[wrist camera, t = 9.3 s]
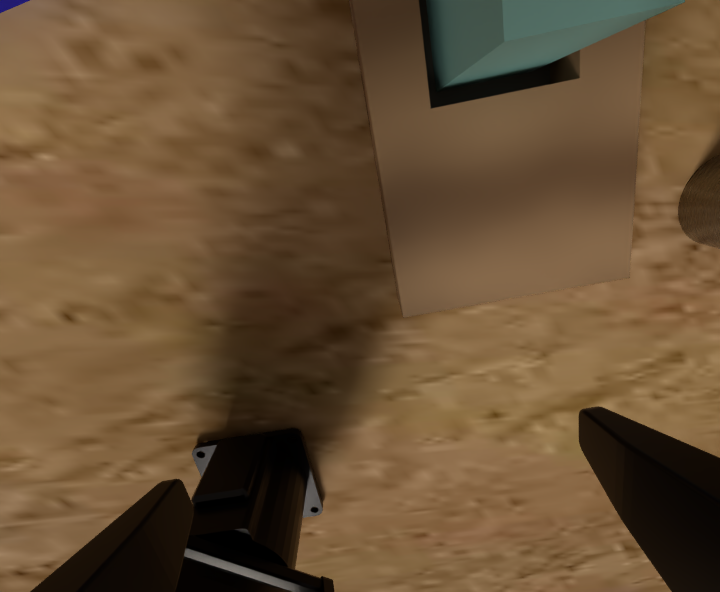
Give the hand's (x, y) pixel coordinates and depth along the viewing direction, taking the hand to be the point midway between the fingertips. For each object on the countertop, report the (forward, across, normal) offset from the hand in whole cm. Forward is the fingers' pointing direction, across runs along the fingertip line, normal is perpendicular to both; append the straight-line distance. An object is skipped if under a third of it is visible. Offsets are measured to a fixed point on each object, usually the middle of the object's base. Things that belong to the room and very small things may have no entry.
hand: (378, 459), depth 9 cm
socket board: (+11, -7, -7) cm, 15 cm away
